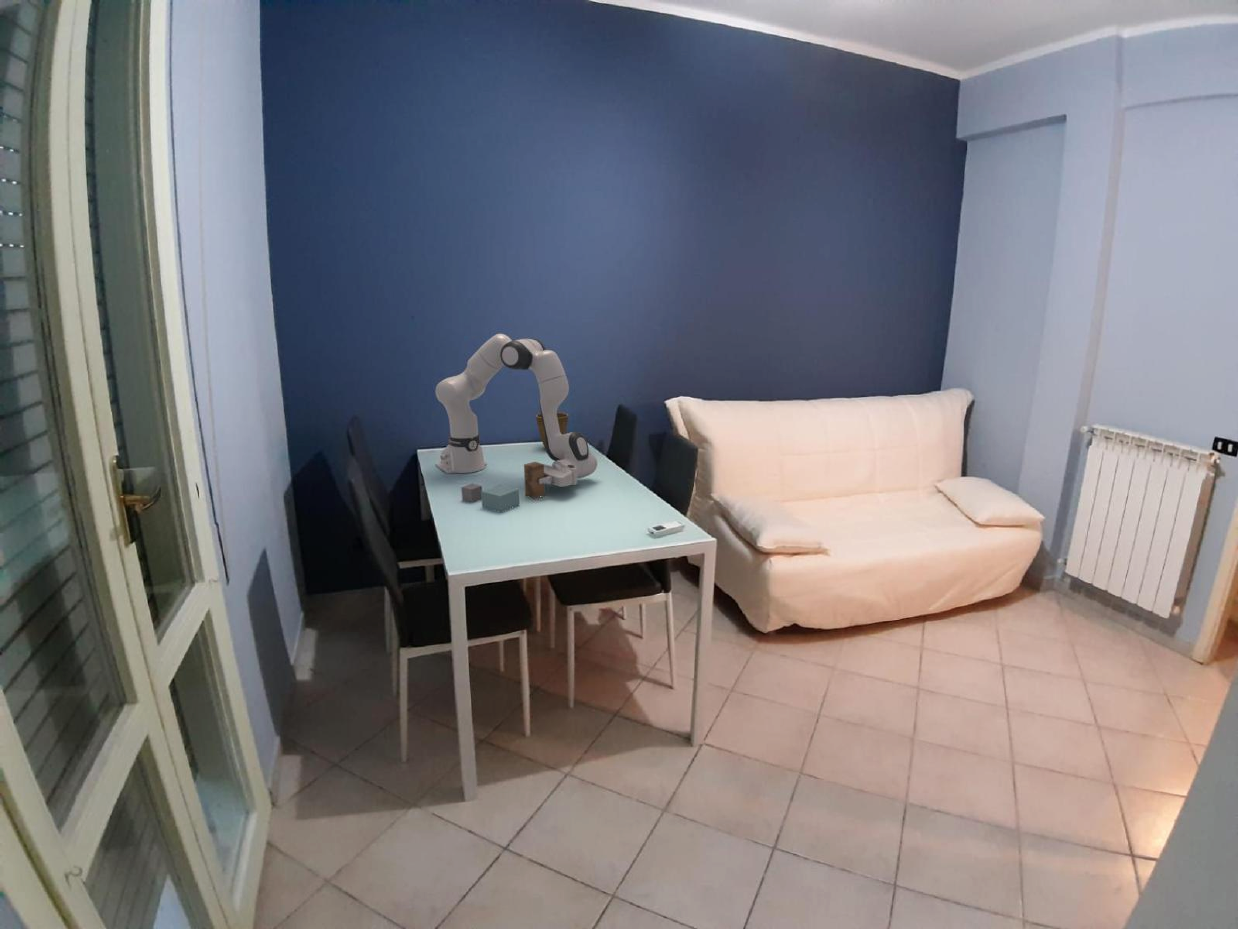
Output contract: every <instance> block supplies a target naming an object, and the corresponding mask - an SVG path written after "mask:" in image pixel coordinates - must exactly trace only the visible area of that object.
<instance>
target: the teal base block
mask: <svg viewBox="0 0 1238 929" xmlns="http://www.w3.org/2000/svg"><path fill="white" fill-rule="evenodd" d="M481 495H482V499H481V508H483V509H486V508H487V510H491V511H494V510H495V511H494V512H497V511H499V513H503V511H504V512H506V511H508V509H509V510H511V509H513V508H512V507H514V508H516V507H518V506H520V505H519V504H520V489H519V488H515V487H512V486H506V485H504V484H503V485H502V484H499V485H495V486H493V487H489V488H487V489H484V490H482V491H481ZM517 505H518V506H517ZM510 508H511V509H510ZM505 510H506V511H505Z"/></svg>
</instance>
